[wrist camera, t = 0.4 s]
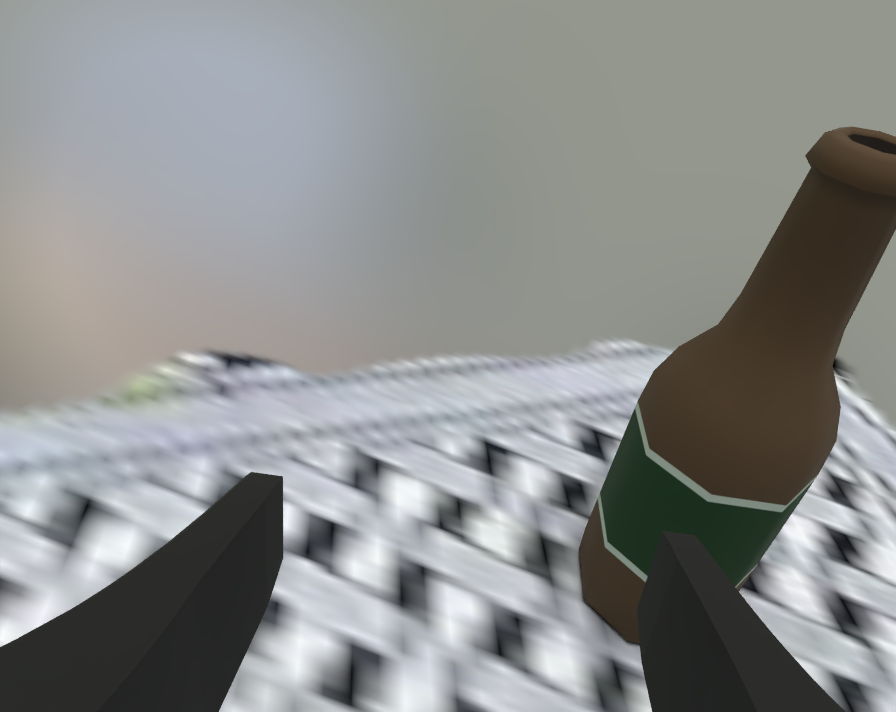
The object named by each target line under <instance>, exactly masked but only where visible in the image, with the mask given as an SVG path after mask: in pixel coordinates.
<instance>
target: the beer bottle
mask: <svg viewBox="0 0 896 712" xmlns="http://www.w3.org/2000/svg"><path fill="white" fill-rule="evenodd" d="M806 158H807V160H808V162H809V164H810V166H811V169H810V171H809V173H808V174H807V176H806V178H805V180H804V182H803V183H802V185H801V187H800V189H799V191H798V192H797V194H796V196H795V198H794V199H793V201H792V203H791V205H790V207H789V208H788V211H787V212H786V214H785V216H784V218H783V219H782V221H781V223H780V225H779V226H778V228H777V230H776V232H775V234H774V235H773V237H772V239H771V241H770V242H769V244H768V246H767V248H766V250H765V251H764V253H763V255H762V257H761V258H760V260H759V262H758V264H757V266H756V267H755V269H754V271H753V273H752V275H751V276H750V278H749V280H748V282H747V284H746V285H745V287H744V289H743V291H742V293H741V294H740V296H739V297H738V298H737V300H736V301H735V302H734V304H733V305H732V306H731V308H730V309H729V310H728V312H727V313H726V314H725V316H724V317H723V319H722V320H721V321H720V323H719V324H718V325H716V326H714V327H713V328H711V329H709V330H707V331H706V332H704V333H702V334H700V335H699V336H697V337H695V338H693V339H692V340H690V341H688V342H686V343H684V344H683V345H681V346H679V347H678V348H677V349H676V350H675V351H674V352H673V353H672V354H671V355H670V356H669V357H668V358H667V359H666V360H665V361H664V362H663V363H661V364H660V365H659V366H658V367H657V368H656V369H655V370H654V372H653V373H652V375H651V377H650V379H649V381H648V383H647V385H646V387H645V389H644V390H643V392H642V394H641V396H640V398H639V400H638V402H637V404H636V407H635V409H634V412H633V414H632V416H631V419H630V421H629V424H628V426H627V429H626V431H625V433H624V436H623V438H622V441H621V443H620V446H619V448H618V450H617V453H616V455H615V458H614V460H613V463H612V465H611V467H610V470H609V472H608V475H607V477H606V480H605V482H604V484H603V487H602V489H601V492H600V494H599V497H598V499H597V501H596V504H595V506H594V509H593V511H592V514H591V516H590V518H589V521H588V523H587V526H586V528H585V531H584V535H583V538H582V541H581V544H580V547H579V557H580V566H581V575H582V584H583V593H584V599H585V601H586V602H587V603H588V604H589V605H590V606H591V607H592V608H593V609H594V610H595V611H596V612H597V613H599V614H600V615H601V616H602V617H603V618H604V619H605V620H606V621H607V622H608V623H609V624H610V625H611V626H612V627H613V628H614V629H615V630H617V631H618V632H619V633H620V634H621V635H622V636H623V637H624V638H625V639H626V640H627V641H628V642H634V643H640V640H639V629H638V617H637V607H638V604H639V601H640V598H641V595H642V592H643V589H644V586H645V583H646V580H647V577H648V574H649V571H650V568H651V565H652V561H653V558H654V555H655V552H656V549H657V546H658V543H659V540H660V537H661V534H662V531H668V532H675V533H682V534H689V535H695V536H696V537H697V538H698V539H699V541H700V542H701V543H702V544H703V546H704V547H705V548H706V550H707V551H708V552H709V554H710V555H711V556H712V558H713V559H714V560H715V562H716V563H717V564H718V566H719V567H720V568H721V570H722V571H723V572H724V573H725V575H726V576H727V577H728V579H729V580H730V581H731V583H732V584H733V585H734V586H735V588H736V589H737V590H738V592H739V591H740V589H741V588H742V586H743V585H744V583H745V582H746V580H747V579H748V577H749V576H750V574H751V573H752V571H753V570H754V568H755V567H756V566H757V564H758V563H759V561H760V560H761V558H762V557H763V555H764V554H765V552H766V551H767V549H768V548H769V546H770V545H771V543H772V542H773V540H774V539H775V537H776V536H777V535H778V533H779V532H780V530H781V529H782V527H783V526H784V524H785V523H786V521H787V520H788V518H789V517H790V515H791V514H792V512H793V511H794V509H795V508H796V506H797V505H798V504H799V502H800V501H801V499H802V498H803V496H804V495H805V493H806V492H807V490H808V489H809V487H810V486H811V484H812V483H813V481H814V480H815V478H816V477H817V475H818V474H819V472H820V470H821V468H822V467H823V465H824V463H825V461H826V459H827V457H828V455H829V454H830V452H831V450H832V448H833V446H834V444H835V442H836V439H837V431H838V423H839V416H840V408H841V406H840V401H839V396H838V391H837V386H836V381H835V376H834V372H833V367H832V365H833V362H834V359H835V356H836V354H837V351H838V347H839V345H840V342H841V339H842V336H843V333H844V330H845V328H846V326H847V324H848V322H849V320H850V318H851V316H852V314H853V312H854V310H855V308H856V306H857V304H858V302H859V301H860V299H861V297H862V294H863V293H864V291H865V289H866V287H867V284H868V283H869V281H870V279H871V277H872V275H873V273H874V271H875V269H876V267H877V265H878V263H879V261H880V259H881V257H882V255H883V253H884V251H885V249H886V247H887V245H888V243H889V241H890V239H891V237H892V236H893V233H894V231H895V230H896V137H894V136H892V135H889V134H886V133H883V132H880V131H874V130H868V129H862V128H857V127H844V128H838V129H835V130H832V131H828V132H825V133H824V134H823V135H822V137H821V138H820V139H819V140H818V141H817V143H816V144H815V145H814V146H813V147H812V148H811V150H810V151H809V152H808V153H807V154H806Z"/></svg>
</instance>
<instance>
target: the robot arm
mask: <svg viewBox="0 0 896 712" xmlns="http://www.w3.org/2000/svg"><path fill="white" fill-rule="evenodd" d="M282 560H283V477H282V476H275V475H268V474H261V473H254V472H251V473H249V474H248V475H247V476H245V477H244V478H243V479H242V480H241V481H240V482H238V483H237V484H236V485H235V486H234V487H233V488H232V489H231V490H229V491H228V492H227V493H226V494H225V495H224V496H223V497H221V498H220V499H219V500H218V501H217V502H216V503H215V504H214V505H212V506H211V507H210V508H209V509H208V510H207V511H205V512H204V513H203V514H202V515H201V516H200V517H198V518H197V519H196V520H195V521H194V522H192V523H191V524H190V525H189V526H187V527H186V528H185V529H184V530H183V531H181V532H180V533H179V534H178V535H176V536H175V537H174V538H173V539H172V540H170V541H169V542H168V543H167V544H165V545H164V546H163V547H161V548H160V549H159V550H157V551H156V552H155V553H153V554H152V555H151V556H149V557H148V558H147V559H145V560H144V561H142V562H141V563H140V564H138V565H137V566H136V567H134V568H133V569H132V570H130V571H129V572H128V573H126V574H125V575H123V576H122V577H120V578H119V579H117V580H116V581H115V582H113V583H112V584H110V585H109V586H107V587H106V588H104V589H103V590H101V591H100V592H98V593H96V594H95V595H93V596H92V597H90V598H88V599H87V600H85V601H84V602H82V603H81V604H79V605H77V606H76V607H74V608H72V609H71V610H69V611H67V612H65V613H63V614H62V615H60V616H58V617H56V618H54V619H52V620H51V621H49V622H47V623H45V624H43V625H41V626H40V627H38V628H36V629H34V630H32V631H30V632H29V633H27V634H25V635H23V636H21V637H19V638H18V639H16V640H14V641H12V642H10V643H8V644H6V645H4V646H2V647H0V712H219V710H220V708H221V705H222V703H223V701H224V699H225V697H226V695H227V693H228V690H229V688H230V686H231V684H232V682H233V680H234V678H235V675H236V673H237V671H238V669H239V667H240V665H241V663H242V660H243V658H244V656H245V654H246V652H247V650H248V648H249V645H250V643H251V641H252V639H253V637H254V635H255V632H256V630H257V628H258V626H259V624H260V622H261V619H262V617H263V615H264V613H265V610H266V608H267V606H268V603H269V600H270V597H271V594H272V591H273V588H274V585H275V582H276V579H277V575H278V572H279V569H280V566H281V563H282ZM637 617H638V629H639V640H640V650H641V659H642V666H643V670H644V675H645V680H646V685H647V689H648V694H649V699H650V703H651V708H652V712H845V711H844V710H843V709H842V708H841V707H840V706H839V705H838V704H837V703H836V702H835V701H834V700H833V699H832V698H831V697H830V696H829V695H828V694H827V693H826V692H825V691H824V690H823V689H822V688H821V687H820V686H819V685H818V684H817V683H816V682H815V681H814V680H813V679H812V677H811V676H810V675H809V674H808V673H807V672H806V671H805V670H804V669H803V668H802V666H801V665H800V664H799V663H798V662H797V661H796V660H795V659H794V658H793V656H792V655H791V654H790V653H789V652H788V651H787V650H786V649H785V648H784V646H783V645H782V644H781V643H780V642H779V641H778V639H777V638H776V637H775V636H774V635H773V634H772V632H771V631H770V630H769V629H768V628H767V626H766V625H765V624H764V623H763V622H762V620H761V619H760V618H759V617H758V615H757V614H756V613H755V612H754V611H753V609H752V608H751V607H750V606H749V604H748V603H747V602H746V601H745V599H744V598H743V597H742V595H741V594H740V593H739V592H738V590H737V589H736V588H735V586H734V585H733V584H732V583H731V581H730V580H729V579H728V577H727V576H726V575H725V573H724V572H723V571H722V570H721V568H720V567H719V566H718V564H717V563H716V562H715V560H714V559H713V558H712V556H711V555H710V554H709V552H708V551H707V550H706V548H705V547H704V546H703V544H702V543H701V542H700V541H699V539H698V538H697V537H696V536H695V535H689V534H682V533H675V532H668V531H662V534H661V537H660V540H659V543H658V546H657V549H656V552H655V555H654V558H653V561H652V565H651V568H650V571H649V574H648V577H647V580H646V583H645V586H644V589H643V592H642V595H641V598H640V601H639V604H638V607H637Z"/></svg>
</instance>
